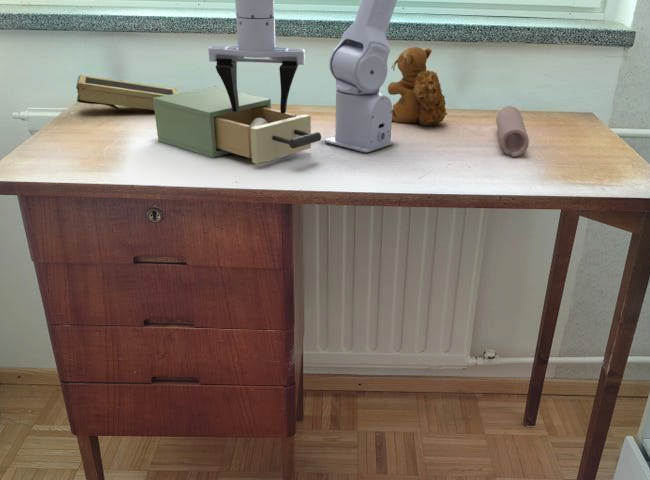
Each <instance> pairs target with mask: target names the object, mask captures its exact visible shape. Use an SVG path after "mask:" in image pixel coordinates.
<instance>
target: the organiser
mask: <svg viewBox="0 0 650 480" xmlns="http://www.w3.org/2000/svg"><path fill="white" fill-rule="evenodd" d="M237 92H238V101H239V109H238V110H237V112H238V111H242V110H247V109H251V108H256V107H260V106H262V107H266V108H270V109H272V101H271V100H272V99H271V98H267V97H263V96H257V95H254V94H250V93H245V92H241V91H237ZM153 101H154V110H153V111H154V118H155V127H156V134H157V140H158V142H161V143H164V144H167V145H171V146H174V147H177V148H181V149H183V150H187V151H191V152H193V153H196V154H199V155H202V156H206V157H210V158H212V159H214V158H218V157H221V156H225V155H228V154H231V152H228V151H225V150H221V149H218V148H216V141H215V128H214V117H215V116H220V115H224V114H229V113H233V111H232V106H231V102H230V99H229V96H228V93H227V90H226V88H223V87H218V86H210V87H204V88H199V89H193V90H189V91H183V92H179V93H177V94H172V95H166V96H161V97H156V98H153Z"/></svg>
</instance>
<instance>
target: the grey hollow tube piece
mask: <svg viewBox="0 0 650 480" xmlns="http://www.w3.org/2000/svg"><path fill="white" fill-rule="evenodd" d="M495 122H496V128H497V134H498V139H499V144H500V148H501V150H502V151H503V153H505V154H506V155H509V156H510V157H511V158H515V157H516V158H517V157H520V156H521V155H523V154H524V153H525V152H526V151H527V149H528V147H529V144H530V140H529V136H528V132H527V128H526V126H525V122H524V120H523V117H522V113H521V112H520V110H519V109H518V108H517V107H515V106H512V105H509V106H505V107H502V108H501V109H500V110H498V112H497V114H496V117H495Z"/></svg>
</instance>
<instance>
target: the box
mask: <svg viewBox="0 0 650 480" xmlns="http://www.w3.org/2000/svg"><path fill="white" fill-rule="evenodd" d="M75 88H76V91H77V92H76V93H77V97H76V102H77V103H81V104H86V105H87V104H89V105H102V106H103V105H104V106H107V107H110V108H113V109H115V110H117V111H119V112H122V110H121V109H120V107H127V108H135V109H142V110H150V111H155V110H154V101H153V98H156V97H161V96H166V95H172V94H177V93H180V91H179V89H178V88H173V87H167V86H166V87H165V86H160V85H153V84H152V85H151V84H146V83H139V82H132V81H126V80H118V79H112V78H103V77H98V76H90V75H85V74H84V75H83V74H79V75H78V77H77V81H76V86H75ZM118 106H120V107H118Z"/></svg>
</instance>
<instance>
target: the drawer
mask: <svg viewBox="0 0 650 480" xmlns="http://www.w3.org/2000/svg"><path fill="white" fill-rule="evenodd" d="M256 118H262V119H264V120H266V121H267V123H268V124H264V125H260V126H256V127H252V128H251V126H250V125H251V123H252V122H253V120H255V119H256ZM311 118H312V116H311V114H306V113H305V114H301V115H297V114H295V113H290V112H287V111H286V112H285V113H281V110H278V109H274V108H271V109H270V108H266V107H262V106H260V107H256V108H251V109H247V110H242V111H238V112H233V113H229V114H224V115H220V116H215V117H214V128H215V141H216V148H218V149H221V150H225V151H228V152H231V153H232V154H235V155H238V156H242V157H244V158H245V157H246V158H248V159H250V158H251V163H253V164H255V165H259V164H263V163H266V162H270V161H272V160H276V159H279V158H283V157H286V156H289V155H294V154H296V153H298V152H303V151H306V150H310V149H311V148H312V144H314V143H318V142H320V141H321V140H322V135H321V133H320V132H319V131H315V132H311V131H312V129H311V128H312V125H311V123H312V119H311ZM231 153H230V154H231Z"/></svg>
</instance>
